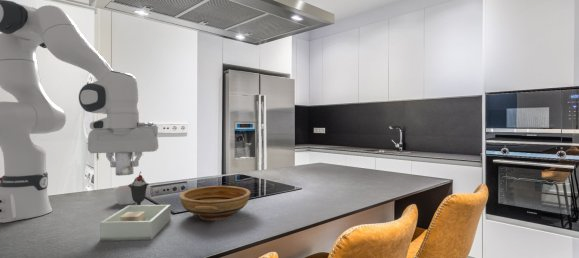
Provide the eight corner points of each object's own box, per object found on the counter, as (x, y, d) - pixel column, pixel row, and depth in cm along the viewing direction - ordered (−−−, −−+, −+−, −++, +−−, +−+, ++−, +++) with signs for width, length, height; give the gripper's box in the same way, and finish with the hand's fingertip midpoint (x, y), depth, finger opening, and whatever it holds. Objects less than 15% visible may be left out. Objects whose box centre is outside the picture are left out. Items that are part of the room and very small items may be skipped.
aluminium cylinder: (112, 175, 95) (111, 153, 94) (120, 173, 100) (119, 151, 99) (129, 175, 95) (128, 152, 95) (136, 172, 100) (135, 151, 100)
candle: (115, 201, 126) (115, 186, 126) (140, 199, 130) (140, 184, 130) (113, 206, 118) (113, 190, 118) (139, 204, 122) (139, 188, 122)
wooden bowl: (195, 203, 123) (195, 183, 123) (255, 204, 123) (255, 184, 123) (163, 229, 94) (163, 203, 93) (243, 230, 93) (243, 204, 93)
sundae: (141, 215, 107) (140, 172, 107) (124, 214, 108) (123, 171, 108) (153, 210, 113) (152, 169, 113) (137, 209, 115) (136, 169, 115)
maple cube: (119, 234, 87) (119, 216, 87) (127, 228, 92) (127, 211, 92) (138, 234, 87) (138, 216, 87) (145, 228, 92) (145, 211, 92)
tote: (151, 239, 85) (151, 221, 85) (99, 240, 84) (99, 222, 84) (170, 219, 103) (170, 204, 103) (128, 220, 102) (128, 205, 102)
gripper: (160, 122, 101) (161, 164, 101) (95, 123, 99) (96, 166, 100) (153, 122, 95) (155, 167, 95) (84, 123, 93) (85, 169, 93)
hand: (124, 166), depth 97 cm, fingers closed on aluminium cylinder, 5 cm apart
